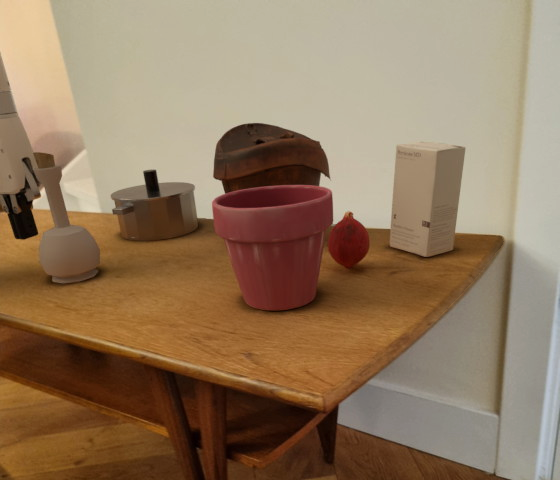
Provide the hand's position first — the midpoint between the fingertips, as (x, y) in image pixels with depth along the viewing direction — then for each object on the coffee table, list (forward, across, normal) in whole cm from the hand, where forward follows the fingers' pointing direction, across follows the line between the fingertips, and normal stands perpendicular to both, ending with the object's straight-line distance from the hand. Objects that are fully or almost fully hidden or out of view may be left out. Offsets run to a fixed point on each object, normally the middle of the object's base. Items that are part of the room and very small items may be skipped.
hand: (27, 236), depth 87 cm
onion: (+6, +48, +15) cm, 51 cm away
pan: (+6, +4, +26) cm, 27 cm away
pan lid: (-1, +4, +26) cm, 26 cm away
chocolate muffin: (+6, +30, +26) cm, 40 cm away
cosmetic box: (+6, +55, +27) cm, 62 cm away
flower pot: (+6, +44, +2) cm, 45 cm away
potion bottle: (+6, +9, 0) cm, 11 cm away
